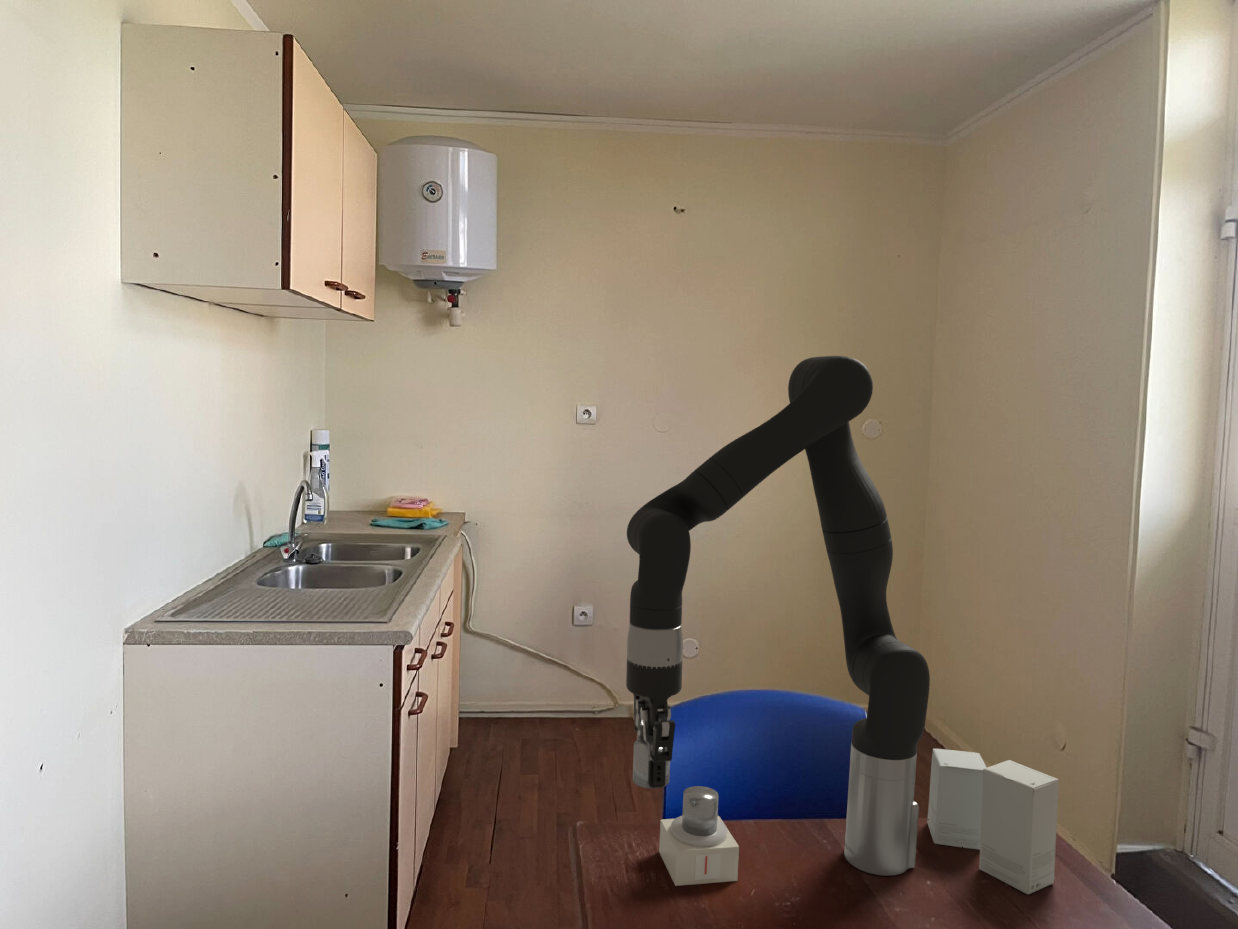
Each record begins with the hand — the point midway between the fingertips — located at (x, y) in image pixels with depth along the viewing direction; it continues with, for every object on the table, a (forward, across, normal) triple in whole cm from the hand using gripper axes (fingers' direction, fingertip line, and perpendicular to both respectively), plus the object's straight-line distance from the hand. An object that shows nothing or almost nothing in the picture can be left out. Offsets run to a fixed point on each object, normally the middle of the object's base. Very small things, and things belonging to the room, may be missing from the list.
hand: (651, 776), depth 122 cm
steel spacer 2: (+10, +4, -8) cm, 13 cm away
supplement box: (+16, +6, -51) cm, 54 cm away
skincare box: (+16, -6, -53) cm, 56 cm away
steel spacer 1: (0, 0, 0) cm, 0 cm away
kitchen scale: (+16, +4, -8) cm, 18 cm away
